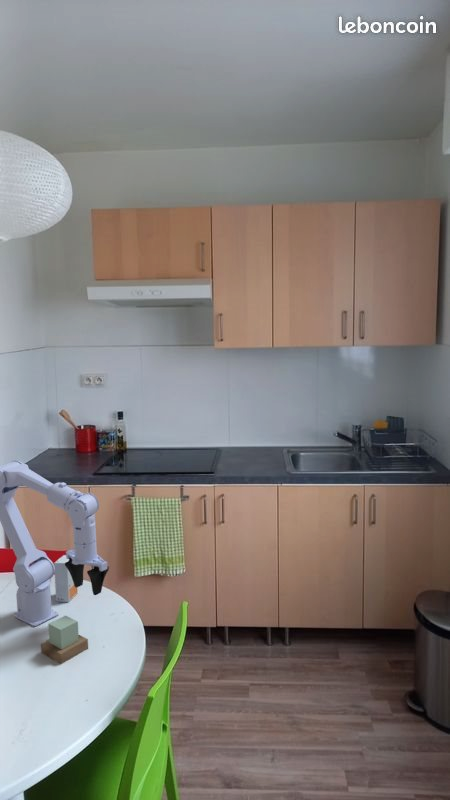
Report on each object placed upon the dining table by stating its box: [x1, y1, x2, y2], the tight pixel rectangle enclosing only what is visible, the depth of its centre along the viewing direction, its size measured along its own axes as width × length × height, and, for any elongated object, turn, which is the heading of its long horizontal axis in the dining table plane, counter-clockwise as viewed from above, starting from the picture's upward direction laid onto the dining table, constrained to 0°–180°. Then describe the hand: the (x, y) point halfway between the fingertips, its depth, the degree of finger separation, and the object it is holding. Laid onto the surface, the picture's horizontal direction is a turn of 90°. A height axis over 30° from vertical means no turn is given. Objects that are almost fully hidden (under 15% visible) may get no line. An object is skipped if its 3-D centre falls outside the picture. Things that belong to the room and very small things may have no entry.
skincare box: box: [53, 554, 79, 603], centre depth 167 cm, size 6×4×12 cm
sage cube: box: [47, 615, 80, 649], centre depth 139 cm, size 5×5×5 cm
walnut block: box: [40, 634, 89, 665], centre depth 140 cm, size 8×8×3 cm
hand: (87, 589), depth 150 cm, fingers open, 7 cm apart
